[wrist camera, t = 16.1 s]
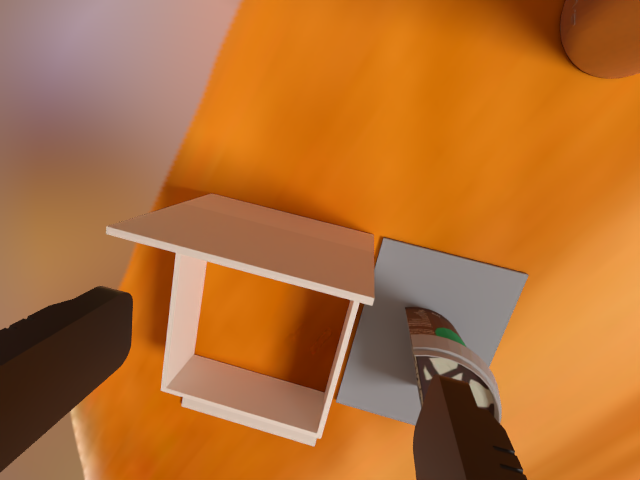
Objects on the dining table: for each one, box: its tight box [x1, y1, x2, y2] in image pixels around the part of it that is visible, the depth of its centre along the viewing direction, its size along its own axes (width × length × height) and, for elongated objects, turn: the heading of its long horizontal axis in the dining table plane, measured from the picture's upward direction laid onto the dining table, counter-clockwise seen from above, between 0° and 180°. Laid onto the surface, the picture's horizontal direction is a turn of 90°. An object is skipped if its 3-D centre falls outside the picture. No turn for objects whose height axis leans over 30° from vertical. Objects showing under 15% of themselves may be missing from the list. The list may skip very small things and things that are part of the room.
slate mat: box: [336, 237, 528, 425], centre depth 37 cm, size 14×20×1 cm
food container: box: [405, 307, 501, 423], centre depth 32 cm, size 12×6×10 cm, turn 11°
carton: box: [106, 193, 375, 446], centre depth 32 cm, size 17×27×15 cm, turn 167°
